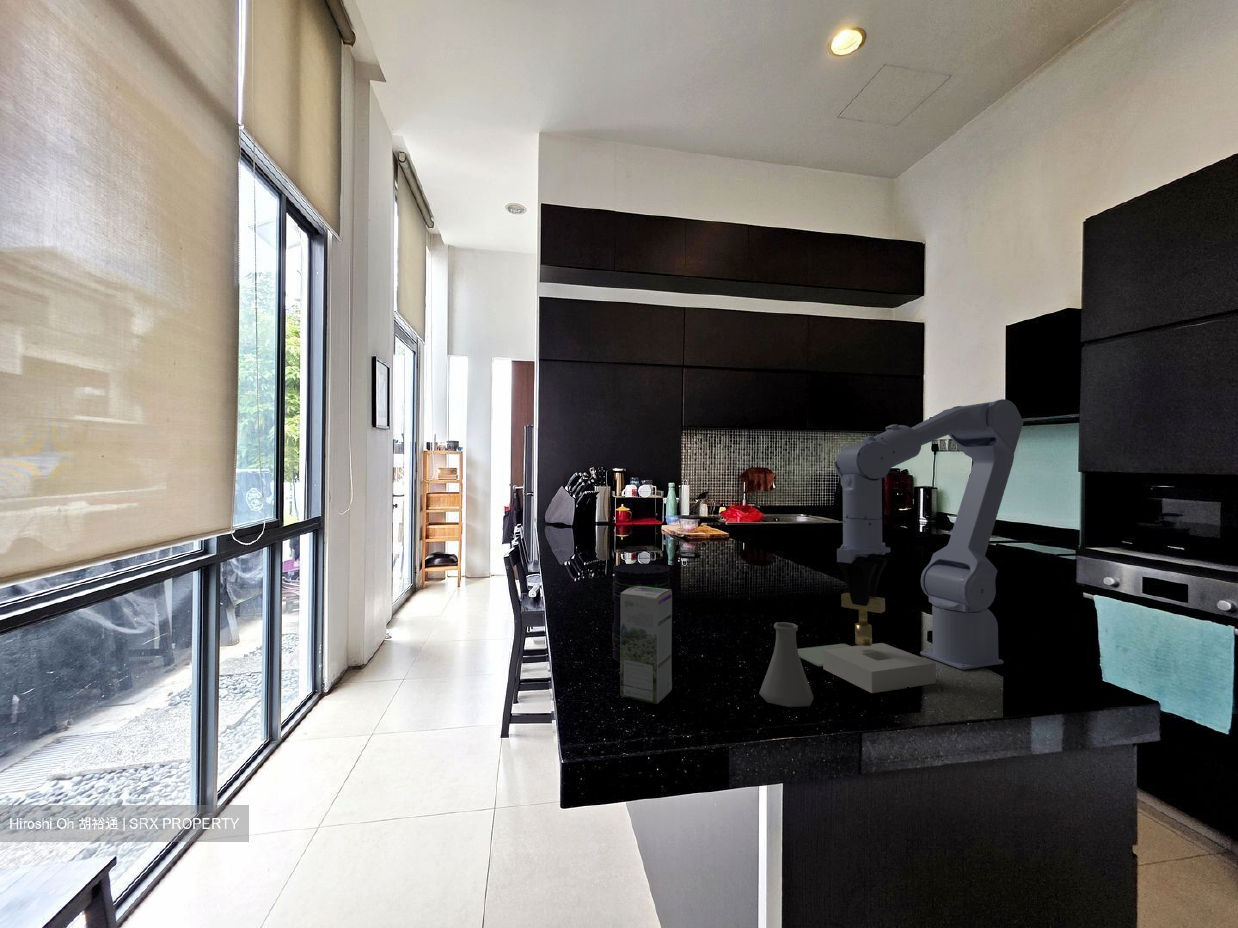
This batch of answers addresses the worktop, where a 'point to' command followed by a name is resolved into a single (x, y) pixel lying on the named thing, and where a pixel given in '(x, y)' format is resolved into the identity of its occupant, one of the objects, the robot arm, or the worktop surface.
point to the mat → (817, 653)
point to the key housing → (879, 667)
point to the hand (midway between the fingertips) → (862, 603)
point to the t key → (864, 617)
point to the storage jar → (629, 578)
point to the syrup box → (645, 643)
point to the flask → (786, 671)
